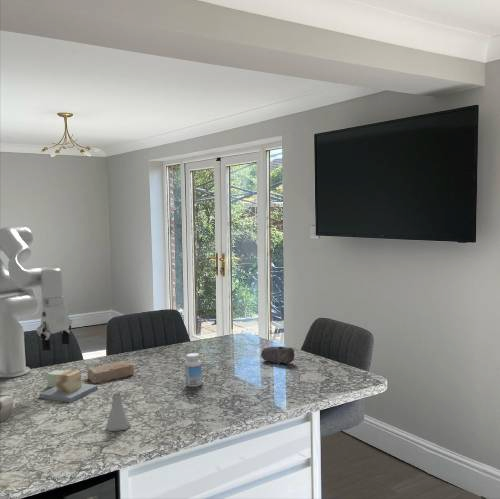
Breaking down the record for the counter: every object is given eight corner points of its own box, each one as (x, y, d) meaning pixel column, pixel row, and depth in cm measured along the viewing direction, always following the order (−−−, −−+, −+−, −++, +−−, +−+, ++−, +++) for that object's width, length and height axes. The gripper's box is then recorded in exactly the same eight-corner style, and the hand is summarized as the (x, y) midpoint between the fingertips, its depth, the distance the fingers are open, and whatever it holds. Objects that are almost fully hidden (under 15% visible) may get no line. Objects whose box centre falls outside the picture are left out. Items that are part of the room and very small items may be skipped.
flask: (108, 423, 163) (106, 391, 162) (132, 421, 164) (130, 389, 163) (103, 432, 156) (102, 399, 155) (128, 431, 156) (127, 397, 156)
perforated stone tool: (258, 362, 225) (257, 345, 224) (264, 359, 229) (264, 343, 228) (289, 366, 216) (289, 349, 216) (295, 363, 221) (295, 347, 220)
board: (39, 397, 188) (39, 393, 188) (67, 385, 201) (67, 381, 201) (70, 402, 182) (70, 398, 182) (97, 389, 195) (97, 385, 195)
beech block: (56, 390, 190) (55, 374, 190) (68, 385, 196) (67, 369, 195) (69, 392, 188) (69, 375, 187) (81, 387, 193) (80, 371, 193)
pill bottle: (205, 383, 199) (204, 353, 198) (196, 388, 193) (195, 357, 193) (191, 381, 201) (190, 351, 201) (182, 386, 196) (181, 356, 195)
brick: (94, 384, 202) (93, 372, 202) (86, 378, 209) (86, 367, 209) (135, 375, 212) (134, 364, 212) (126, 370, 219) (126, 359, 218)
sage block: (47, 386, 200) (46, 373, 200) (57, 382, 205) (56, 370, 204) (58, 388, 198) (57, 375, 198) (67, 384, 203) (66, 371, 202)
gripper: (43, 305, 190) (46, 353, 191) (77, 298, 206) (80, 342, 206) (27, 305, 193) (30, 352, 194) (62, 297, 209) (65, 341, 210)
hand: (56, 346), depth 200 cm, fingers open, 9 cm apart
